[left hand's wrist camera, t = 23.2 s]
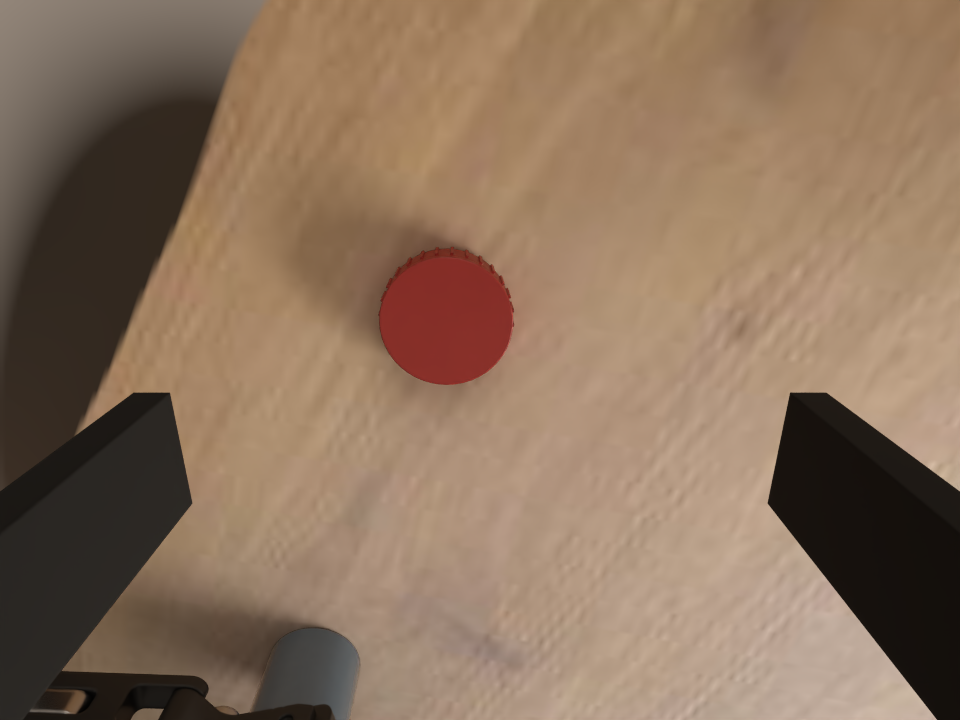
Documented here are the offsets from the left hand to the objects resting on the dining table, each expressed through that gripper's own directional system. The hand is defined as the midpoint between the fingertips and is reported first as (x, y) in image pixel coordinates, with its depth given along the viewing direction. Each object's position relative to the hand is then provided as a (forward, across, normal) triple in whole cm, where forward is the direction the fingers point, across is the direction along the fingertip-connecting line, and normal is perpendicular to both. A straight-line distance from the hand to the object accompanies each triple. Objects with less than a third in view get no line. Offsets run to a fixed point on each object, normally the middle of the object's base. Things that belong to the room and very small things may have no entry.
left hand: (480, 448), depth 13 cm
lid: (+9, +1, 0) cm, 9 cm away
